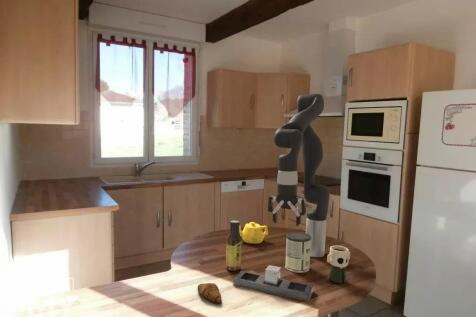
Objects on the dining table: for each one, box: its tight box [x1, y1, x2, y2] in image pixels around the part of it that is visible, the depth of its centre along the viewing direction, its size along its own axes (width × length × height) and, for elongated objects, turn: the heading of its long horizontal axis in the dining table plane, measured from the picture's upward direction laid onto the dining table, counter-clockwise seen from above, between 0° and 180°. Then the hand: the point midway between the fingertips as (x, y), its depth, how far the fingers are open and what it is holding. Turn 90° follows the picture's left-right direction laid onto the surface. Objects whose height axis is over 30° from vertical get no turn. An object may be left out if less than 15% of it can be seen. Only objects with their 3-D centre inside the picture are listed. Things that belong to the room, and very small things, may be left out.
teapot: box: [239, 221, 269, 245], centre depth 174 cm, size 14×13×10 cm
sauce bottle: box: [225, 219, 243, 272], centre depth 138 cm, size 7×6×20 cm
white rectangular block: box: [264, 264, 282, 287], centre depth 122 cm, size 4×4×7 cm
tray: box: [232, 270, 314, 302], centre depth 122 cm, size 8×28×2 cm, turn 68°
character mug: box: [326, 245, 351, 284], centre depth 130 cm, size 11×7×13 cm, turn 113°
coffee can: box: [284, 231, 311, 274], centre depth 142 cm, size 10×10×14 cm
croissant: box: [197, 282, 223, 305], centre depth 115 cm, size 14×7×5 cm, turn 37°
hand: (286, 224), depth 128 cm, fingers open, 8 cm apart
